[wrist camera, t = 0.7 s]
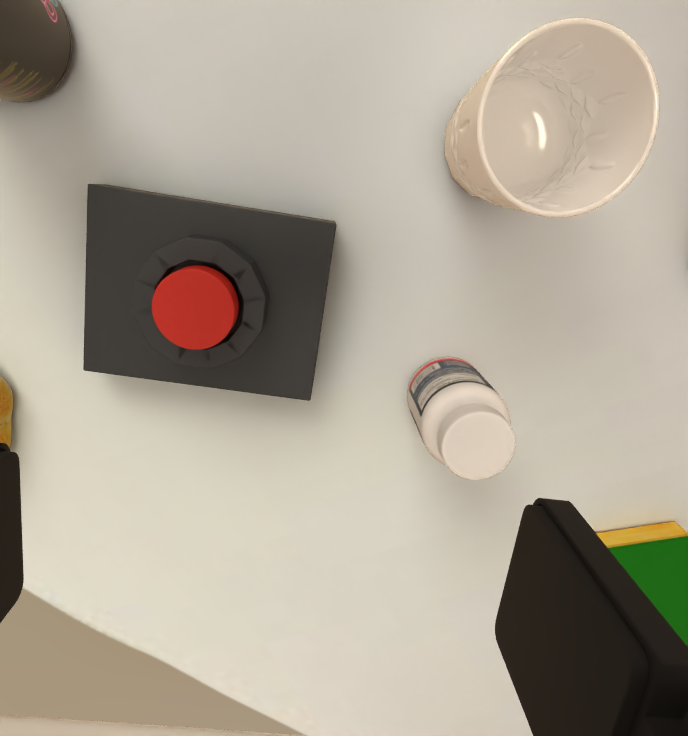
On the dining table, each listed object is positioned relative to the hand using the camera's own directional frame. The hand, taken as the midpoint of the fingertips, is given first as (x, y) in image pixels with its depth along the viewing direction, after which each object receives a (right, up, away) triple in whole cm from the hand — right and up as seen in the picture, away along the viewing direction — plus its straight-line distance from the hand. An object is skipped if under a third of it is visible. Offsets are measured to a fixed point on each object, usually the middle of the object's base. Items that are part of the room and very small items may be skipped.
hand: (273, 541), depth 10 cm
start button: (-7, +7, +21) cm, 23 cm away
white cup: (+11, +17, +23) cm, 31 cm away
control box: (-7, +8, +25) cm, 27 cm away
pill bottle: (+8, +2, +28) cm, 29 cm away
